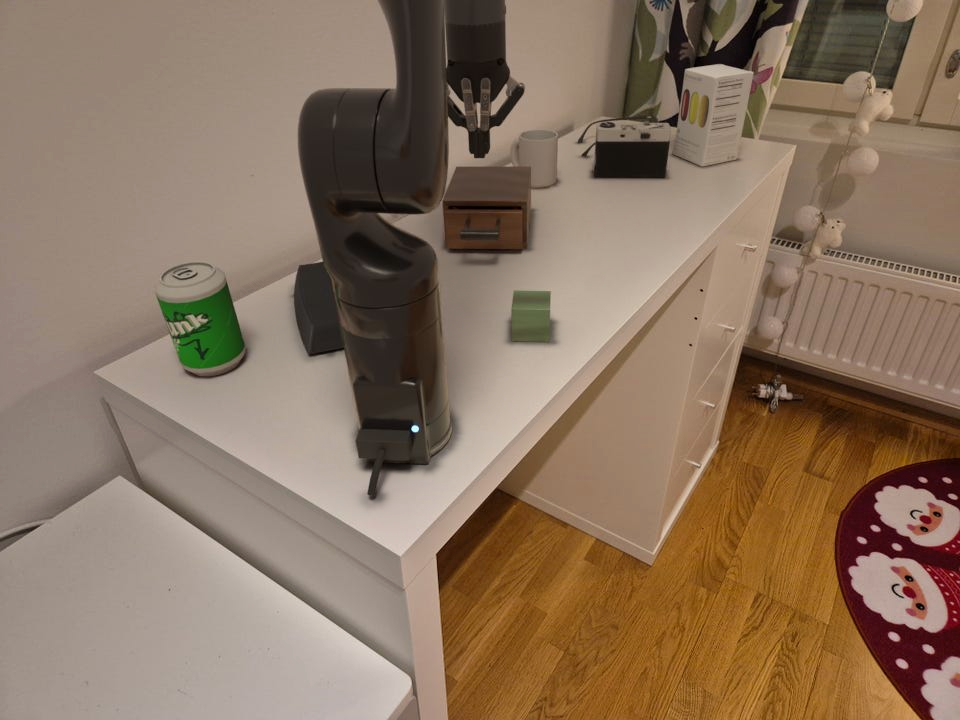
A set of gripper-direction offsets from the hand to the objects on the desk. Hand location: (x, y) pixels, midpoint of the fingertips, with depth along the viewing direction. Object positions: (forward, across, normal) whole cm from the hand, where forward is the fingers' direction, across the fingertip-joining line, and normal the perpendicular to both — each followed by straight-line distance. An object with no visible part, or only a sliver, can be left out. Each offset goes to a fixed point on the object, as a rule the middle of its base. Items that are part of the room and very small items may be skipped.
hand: (480, 156), depth 91 cm
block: (+16, +8, -21) cm, 27 cm away
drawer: (+15, 0, +6) cm, 16 cm away
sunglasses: (+16, +24, +54) cm, 61 cm away
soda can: (+16, -30, -29) cm, 45 cm away
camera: (+16, +25, +39) cm, 49 cm away
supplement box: (+16, +41, +48) cm, 65 cm away
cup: (+16, +6, +34) cm, 38 cm away
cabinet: (+16, 0, +11) cm, 19 cm away
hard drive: (+16, -17, -17) cm, 29 cm away
